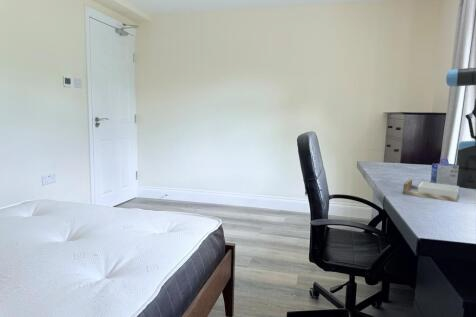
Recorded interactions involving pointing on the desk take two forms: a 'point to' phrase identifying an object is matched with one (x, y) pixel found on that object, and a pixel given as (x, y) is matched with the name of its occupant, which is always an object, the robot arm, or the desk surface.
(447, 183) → the ink cartridge box
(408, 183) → the backstop
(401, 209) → the desk surface
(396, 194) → the desk surface
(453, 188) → the caddy
